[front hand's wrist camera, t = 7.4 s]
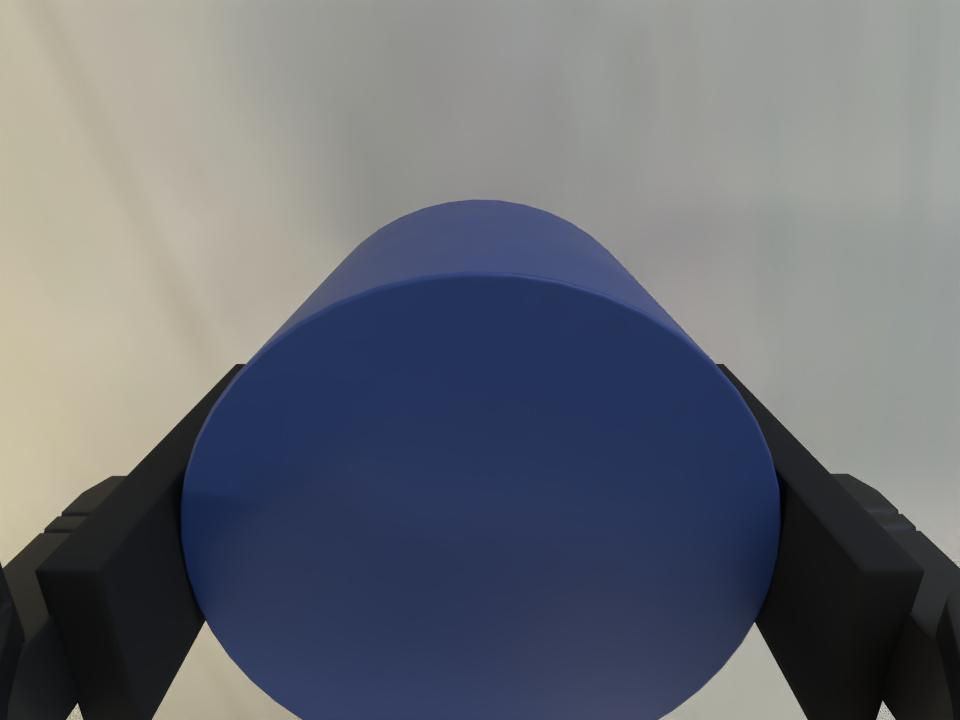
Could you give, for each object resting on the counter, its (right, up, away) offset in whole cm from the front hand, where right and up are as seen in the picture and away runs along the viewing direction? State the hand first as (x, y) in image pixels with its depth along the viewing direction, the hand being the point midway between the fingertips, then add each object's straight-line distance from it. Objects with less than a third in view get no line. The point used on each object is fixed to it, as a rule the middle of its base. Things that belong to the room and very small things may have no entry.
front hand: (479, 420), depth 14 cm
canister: (0, +1, +2) cm, 2 cm away
